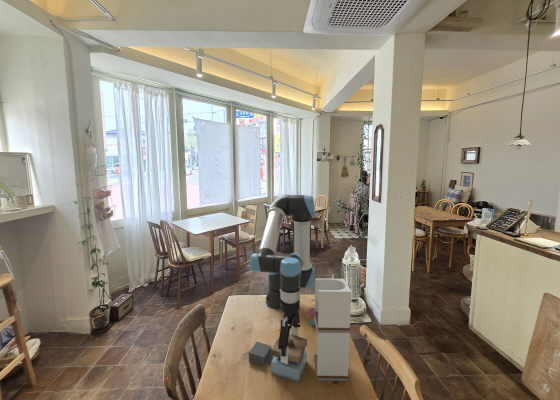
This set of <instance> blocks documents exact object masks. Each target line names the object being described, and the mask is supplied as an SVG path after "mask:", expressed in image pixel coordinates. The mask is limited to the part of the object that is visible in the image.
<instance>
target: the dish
mask: <svg viewBox="0 0 560 400" xmlns="http://www.w3.org/2000/svg"><path fill="white" fill-rule="evenodd" d="M307 360H308V350H307V349H305V351H304V353H303V355H302V358H301V360H300V362H299V364H298V363H294V362H291V361H288V364H285V363H282V362H281V358H278V357H275V356H273V358H272V360H271V362H270V363H271V364H270V365H271V366H270V367H271V369H270V372H271V374H272V375H275V376H278V377H280V378H283V379H287V380H289V381H293V382H295V383H297V384H299V382H300V381H301V377H302V375H303V373H304V370H305V368H306V365H307V363H308V361H307Z"/></svg>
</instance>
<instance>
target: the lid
mask: <svg viewBox="0 0 560 400" xmlns="http://www.w3.org/2000/svg"><path fill="white" fill-rule="evenodd" d="M278 344H279V337H278V338H277V340H275V343H274V344H273V346H272V347H271V357H274V356H275V357H278V358H281V349H278ZM287 346H288V361H291V362H294V363H298V364H299V362H300V360H301V358H302V355H303V353H304V351H305V350H306V347H307V346H308V338H305V337H301V336H299V335H298V336H294V335H291V333H290V334H289V339H288V345H287Z"/></svg>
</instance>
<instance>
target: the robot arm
mask: <svg viewBox="0 0 560 400" xmlns="http://www.w3.org/2000/svg"><path fill="white" fill-rule="evenodd" d="M267 208H268V209H267V212H266V216H267V219H266V222H265V223H266V224H265V226H264V230H263V233H262V237H261V240H260V244H259V248H258V251H257V253H252V254H251V255H250V258H249V267H250V270H251V271H253V272H257V273H268V291H267V294H266V297H265V304H266V305H267V306H268V307H270V308H273V309H280V311H282V312H283V319H281V320H280V328H279V337H278V338H279V344H278V349H281V362H282V363H285V364H288V346H287V345H288V339H289V334H290V335H294V336H298V337H299V328H301V324H300V323H301V320H300V313H299V311H300V308H301V300H300V299H301V289H312V287H313V284H314V277H315V267H314V266H313V264H312V263H311V261H310V254H311V253H310V252H311V251H310V250H311V247H310V245H311V243H310V242H311V237H310V235H311V222H313V219H314V218H316V203H315V199H314V197H313V196H312V195H305V194H283V195H280V196H278V197H276V199H275V200H273V201H272V202H271V204H269V207H267ZM285 217H291V221H292V222H293V224H294V225H293V226H294V227H293V228H294V230H293V231H294V236H293V237H294V238H293V239H294V240H293V242H294V247H293V249H294V250H293V251H294V252H293V253H290V254H288V255H284V254H283V255H282V254H281V255H280V254H276V250H277V246H278V241H279V237H280V231H281V228H282V222H283V220H284V219H285Z"/></svg>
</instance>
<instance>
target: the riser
mask: <svg viewBox="0 0 560 400" xmlns="http://www.w3.org/2000/svg"><path fill="white" fill-rule="evenodd" d="M271 349H272V345H270V344H266V343H264V342H263V343H262V342H260V341H256V342H255V343H254V344H253V346H252V348H250V350H249V352H248V362H249V363H252V364H255V365H259V366H262V367H265V366H266V364H267V363H268V361H269V360H270V358H271V357H272V355H271Z"/></svg>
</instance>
